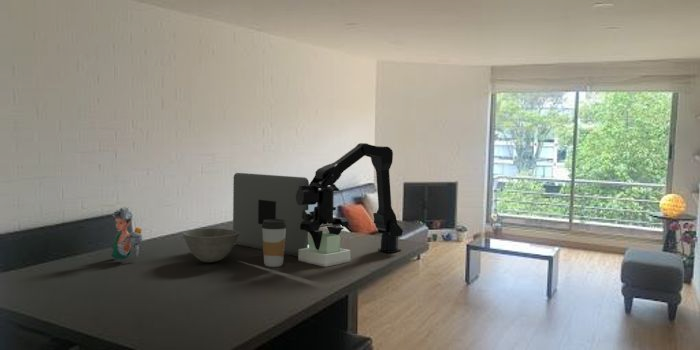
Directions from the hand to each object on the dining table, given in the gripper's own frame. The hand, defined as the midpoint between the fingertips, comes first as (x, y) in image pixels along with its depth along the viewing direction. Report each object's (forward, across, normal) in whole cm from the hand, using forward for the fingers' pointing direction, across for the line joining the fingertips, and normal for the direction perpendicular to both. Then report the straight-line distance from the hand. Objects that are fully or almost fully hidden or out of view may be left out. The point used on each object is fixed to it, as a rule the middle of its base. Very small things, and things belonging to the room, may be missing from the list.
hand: (324, 248), depth 189 cm
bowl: (+5, +29, -26) cm, 39 cm away
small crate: (+1, 0, 0) cm, 1 cm away
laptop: (+5, -9, -27) cm, 29 cm away
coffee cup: (+5, +17, -7) cm, 19 cm away
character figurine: (+5, +50, -48) cm, 70 cm away
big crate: (+4, 0, 0) cm, 5 cm away
